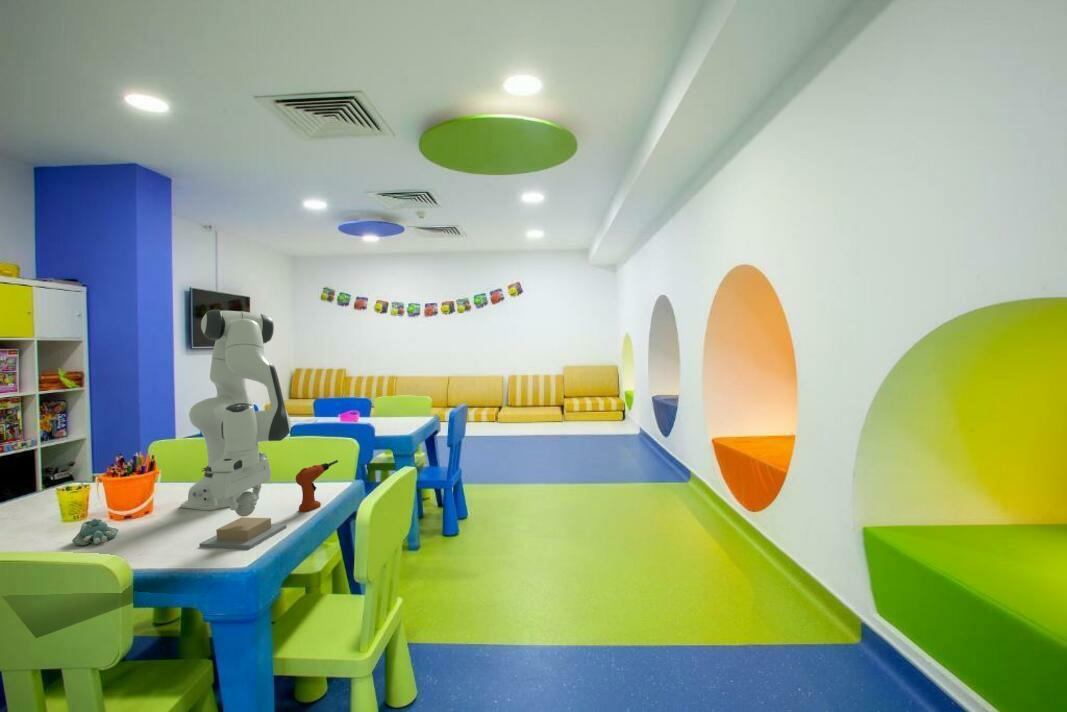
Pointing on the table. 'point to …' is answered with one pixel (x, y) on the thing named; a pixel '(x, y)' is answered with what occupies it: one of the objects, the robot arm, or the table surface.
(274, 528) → the baseplate
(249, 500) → the grey lumpy sculpture
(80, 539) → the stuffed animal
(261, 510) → the table surface
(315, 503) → the toy drill
